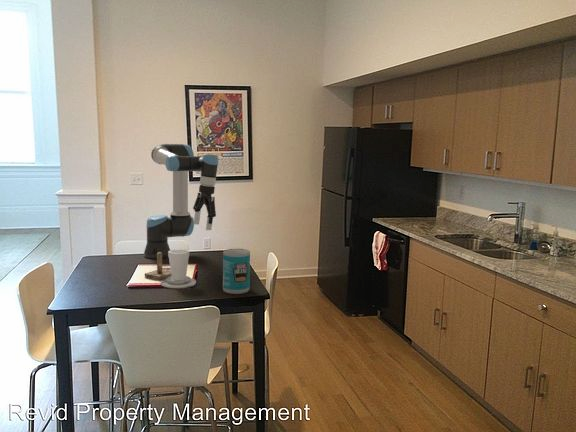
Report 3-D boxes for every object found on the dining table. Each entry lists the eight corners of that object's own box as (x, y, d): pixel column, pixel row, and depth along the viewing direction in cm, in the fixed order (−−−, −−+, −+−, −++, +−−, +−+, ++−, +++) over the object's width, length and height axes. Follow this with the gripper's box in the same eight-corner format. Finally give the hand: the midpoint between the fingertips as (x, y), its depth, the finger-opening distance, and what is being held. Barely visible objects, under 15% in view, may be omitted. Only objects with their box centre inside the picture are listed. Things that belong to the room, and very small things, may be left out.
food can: (243, 295, 209) (243, 255, 206) (218, 292, 213) (218, 252, 210) (253, 288, 220) (254, 249, 218) (229, 285, 224) (230, 247, 221)
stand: (144, 277, 232) (144, 253, 230) (159, 273, 241) (159, 249, 239) (160, 280, 227) (159, 256, 226) (174, 276, 236) (174, 252, 234)
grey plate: (154, 283, 222) (153, 278, 222) (181, 277, 235) (181, 272, 234) (175, 291, 212) (175, 285, 212) (203, 283, 225) (203, 278, 224)
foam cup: (186, 281, 218) (186, 254, 216) (166, 280, 219) (166, 253, 217) (191, 276, 228) (191, 249, 226) (171, 275, 228) (171, 248, 226)
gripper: (226, 189, 228) (220, 232, 231) (202, 182, 248) (198, 222, 251) (212, 188, 224) (207, 232, 227) (189, 181, 243) (184, 221, 246)
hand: (202, 227), depth 239 cm, fingers open, 13 cm apart
